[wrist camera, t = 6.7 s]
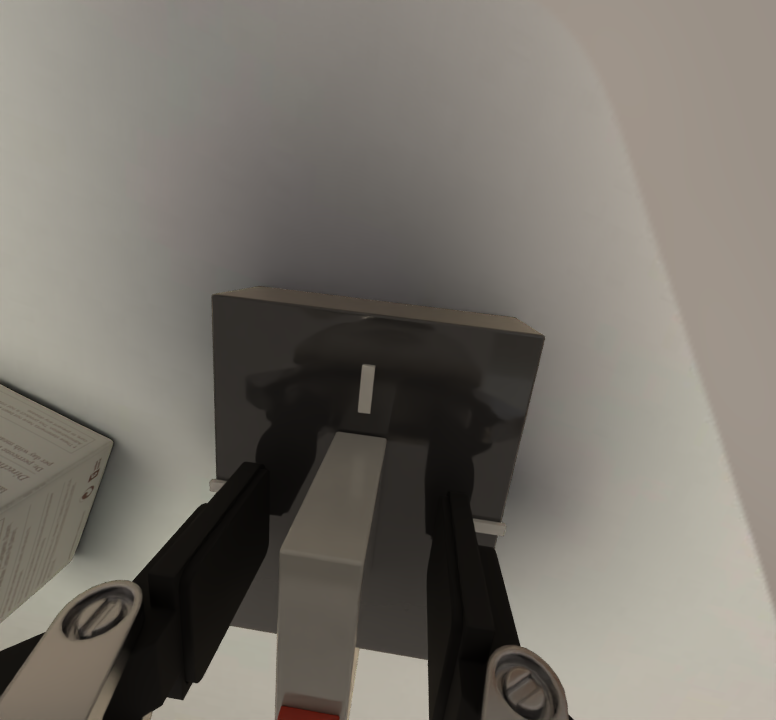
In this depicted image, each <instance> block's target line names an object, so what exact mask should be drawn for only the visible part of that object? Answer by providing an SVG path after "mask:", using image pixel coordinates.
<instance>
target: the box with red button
mask: <svg viewBox="0 0 776 720" xmlns="http://www.w3.org/2000/svg"><path fill="white" fill-rule="evenodd" d="M386 444H387V440H386V438H381V437H374V436H367V435H360V434H352V433H345V432H336V434H335V436H334V438H333V440H332V442H331V444H330V446H329V448H328V450H327V453H326V455H325V457H324V459H323V461H322V463H321V465H320V467H319V469H318V471H317V473H316V475H315V478H314V480H313V482H312V484H311V486H310V488H309V490H308V492H307V494H306V496H305V498H304V500H303V502H302V505H301V507H300V509H299V511H298V513H297V515H296V517H295V519H294V521H293V523H292V525H291V527H290V530H289V532H288V534H287V536H286V538H285V540H284V542H283V544H282V546H281V548H280V550H279V581H278V620H277V658H276V697H275V720H349V715H350V708H351V702H352V695H353V689H354V682H355V676H356V669H357V663H358V656H359V650H360V644H361V637H362V631H363V624H364V618H365V611H366V605H367V598H368V592H369V585H370V579H371V572H372V563H373V555H374V546H375V538H376V529H377V521H378V512H379V504H380V495H381V487H382V478H383V469H384V461H385V452H386Z"/></svg>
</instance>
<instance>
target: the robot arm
mask: <svg viewBox="0 0 776 720" xmlns="http://www.w3.org/2000/svg"><path fill="white" fill-rule="evenodd" d="M269 521H270V471H269V470H266V469H265V465H264V464H260V463H253V462H243V463H242V464H241V465H240V467H239V468H238V469H237V470H236V471H235V472H234V473H233V475H232V476H231V477H230V478H229V479H228V480H227V482H226V483H225V484H224V485H223V486H222V487H221V488H220V490H219V491H218V492H217V493H216V494H215V495H214V497H213V498H212V499H211V500H210V501H209V502H208V503H204V504H202V505H200V506H199V507H198V508H197V509H196V510H195V511H194V513H193V514H192V515H191V516H190V517H189V518H188V519H187V520H186V522H185V523H184V524H183V525H182V526H181V527H180V528H179V529H178V531H177V532H176V533H175V534H174V535H173V536H172V537H171V538H170V540H169V541H168V542H167V543H166V544H165V545H164V546H163V547H162V549H161V550H160V551H159V552H158V553H157V554H156V555H155V556H154V558H153V559H152V560H151V561H150V562H149V563H148V564H147V565H146V567H145V568H144V569H143V570H142V571H141V572H140V573H139V574H138V575H137V577H136V578H135V579H134V580H133V581H132V582H131V581H129V580H115V581H109V582H105V583H102V584H99V585H97V586H94V587H91V588H90V589H88V590H86V591H84V592H83V593H81V594H79V595H78V596H76V597H75V598H74V599H73V600H71V601H70V602H69V603H68V604H66V606H65V607H64V608H63V609H62V610H61V611H60V612H59V614H58V615H57V616H56V618H55V619H54V620H53V622H52V623H51V625H50V626H49V628H48V629H47V631H46V632H44V633H42V634H40V635H37V636H35V637H33V638H30V639H28V640H26V641H23V642H21V643H19V644H16V645H14V646H12V647H9V648H7V649H5V650H2V651H0V720H150V719H151V716H152V712H153V711H154V710H155V709H157V708H159V707H160V706H162V705H163V703H164V701H165V699H166V698H167V697H168V698H174V699H179V700H184V698H185V696H186V694H187V692H188V690H189V688H190V686H191V685H192V683H199V682H200V680H201V679H202V678H203V676H204V674H205V672H206V670H207V668H208V666H209V664H210V663H211V661H212V659H213V657H214V655H215V653H216V651H217V649H218V647H219V645H220V643H221V641H222V639H223V637H224V636H225V634H226V632H227V630H228V628H229V626H230V624H231V622H232V620H233V618H234V616H235V614H236V612H237V610H238V608H239V607H240V605H241V603H242V601H243V599H244V597H245V595H246V593H247V591H248V589H249V587H250V585H251V583H252V581H253V580H254V578H255V576H256V574H257V572H258V570H259V568H260V566H261V564H262V562H263V560H264V558H265V556H266V554H267V551H268V547H269ZM427 634H428V685H429V720H574V719H573V718H572V717H571V716H570V715H568V705H567V700H566V696H565V691H564V688H563V686H562V684H561V682H560V680H559V678H558V676H557V675H556V674H555V672H554V671H553V670H552V668H551V667H550V666H549V664H547V663H546V662H545V661H544V660H543V659H542V658H541V657H540V656H538V655H537V654H535V653H534V652H532V651H530V650H528V649H527V648H524V647H520V643H519V639H518V635H517V631H516V627H515V624H514V620H513V616H512V612H511V608H510V604H509V600H508V596H507V593H506V589H505V585H504V581H503V577H502V573H501V569H500V565H499V562H498V558H497V554H496V551H495V549H494V548H493V547H488V546H481V545H478V542H477V537H476V532H475V527H474V522H473V517H472V512H471V507H470V502H469V497H468V494H465V493H458V492H451V491H448V493H447V496H443V495H441V496H440V499H439V505H438V511H437V517H436V522H435V528H434V534H433V539H432V545H431V551H430V557H429V562H428V568H427Z"/></svg>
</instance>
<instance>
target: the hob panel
mask: <svg viewBox="0 0 776 720" xmlns="http://www.w3.org/2000/svg"><path fill="white" fill-rule="evenodd" d="M212 331H213V369H214V406H215V444H216V479H211V481H210V491H213V492H218V491H219V490H220V488H221V487H222V486H223V485H224V484H225V483H226V482H227V480H228V479H229V478H230V477H231V476H232V475H233V473H234V472H235V471H236V470H237V469H238V468H239V467H240V465H241V464H242V463H243V462H253V463H260V464H264V465H265V469H266V470H269V471H270V521H269V547H268V551H267V554H266V556H265V558H264V560H263V562H262V564H261V566H260V568H259V570H258V572H257V574H256V576H255V578H254V580H253V581H252V583H251V585H250V587H249V589H248V591H247V593H246V595H245V597H244V599H243V601H242V603H241V605H240V607H239V608H238V610H237V612H236V614H235V616H234V618H233V620H232V622H231V624H230V626H234V627H240V628H246V629H251V630H257V631H263V632H269V633H275V634H277V620H278V581H279V550H280V548H281V546H282V544H283V542H284V540H285V538H286V536H287V534H288V532H289V530H290V527H291V525H292V523H293V521H294V519H295V517H296V515H297V513H298V511H299V509H300V507H301V505H302V502H303V500H304V498H305V496H306V494H307V492H308V490H309V488H310V486H311V484H312V482H313V480H314V478H315V475H316V473H317V471H318V469H319V467H320V465H321V463H322V461H323V459H324V457H325V455H326V453H327V450H328V448H329V446H330V444H331V442H332V440H333V438H334V436H335V434H336V432H345V433H352V434H360V435H367V436H374V437H381V438H386V440H387V444H386V452H385V461H384V469H383V478H382V487H381V495H380V504H379V512H378V521H377V529H376V538H375V546H374V555H373V563H372V572H371V579H370V585H369V592H368V598H367V605H366V611H365V618H364V624H363V631H362V637H361V644H360V648H361V649H367V650H373V651H378V652H384V653H390V654H396V655H401V656H407V657H413V658H419V659H425V660H428V634H427V568H428V562H429V557H430V551H431V545H432V539H433V534H434V528H435V522H436V517H437V511H438V505H439V499H440V496H441V495H443V496H447V493H448V491H451V492H458V493H465V494H468V497H469V502H470V507H471V512H472V517H473V522H474V527H475V532H476V537H477V542H478V545H481V546H488V547H493V548H494V549H495V545H496V541H497V537H498V535H499V536H504V534H505V530H506V524H505V523H501V520H502V516H503V512H504V508H505V503H506V499H507V495H508V491H509V487H510V483H511V478H512V474H513V470H514V466H515V462H516V458H517V453H518V449H519V445H520V441H521V437H522V433H523V428H524V424H525V420H526V416H527V412H528V407H529V403H530V399H531V395H532V391H533V387H534V382H535V378H536V374H537V370H538V366H539V362H540V357H541V353H542V349H543V345H544V341H545V336H544V335H543V334H541V333H539V332H538V331H536V330H535V329H533V328H531V327H530V326H528V325H527V324H525V323H523V322H522V321H520V320H519V319H517V318H515V317H508V316H500V315H492V314H484V313H476V312H468V311H459V310H451V309H443V308H435V307H427V306H419V305H410V304H402V303H394V302H386V301H378V300H370V299H362V298H353V297H345V296H337V295H329V294H321V293H313V292H304V291H296V290H288V289H280V288H272V287H264V286H256V287H251V288H245V289H239V290H233V291H228V292H222V293H216V294H213V295H212Z"/></svg>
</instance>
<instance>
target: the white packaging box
mask: <svg viewBox="0 0 776 720" xmlns="http://www.w3.org/2000/svg"><path fill="white" fill-rule="evenodd" d="M112 446H113V441H112V440H111V439H109V438H107V437H105V436H103V435H100V434H98V433H96V432H94V431H92V430H90V429H88V428H86V427H84V426H82V425H80V424H78V423H76V422H74V421H72V420H70V419H68V418H66V417H64V416H62V415H60V414H58V413H56V412H54V411H52V410H50V409H48V408H46V407H44V406H42V405H40V404H38V403H36V402H34V401H32V400H30V399H28V398H26V397H24V396H22V395H20V394H18V393H16V392H14V391H12V390H10V389H8V388H6V387H4V386H3V385H1V384H0V623H1V622H2V621H3V620H5V619H6V618H7V617H8V616H9V615H10V614H12V613H13V612H14V611H15V610H16V609H17V608H18V607H20V606H21V605H22V604H23V603H24V602H25V601H27V600H28V599H29V598H30V597H31V596H32V595H34V594H35V593H36V592H37V591H38V590H39V589H41V588H42V587H43V586H44V585H45V584H46V583H47V582H48V581H50V580H51V579H52V578H53V577H54V576H55V575H56V574H58V573H59V572H60V571H61V570H62V569H63V568H64V567H65V566H66V565H68V564H69V563H70V561H71V560H72V559H73V556H74V553H75V551H76V549H77V546H78V544H79V541H80V538H81V536H82V532H83V529H84V527H85V524H86V521H87V518H88V516H89V512H90V510H91V508H92V504H93V502H94V499H95V496H96V493H97V490H98V487H99V485H100V482H101V479H102V476H103V473H104V470H105V467H106V464H107V461H108V458H109V455H110V452H111V449H112Z"/></svg>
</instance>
